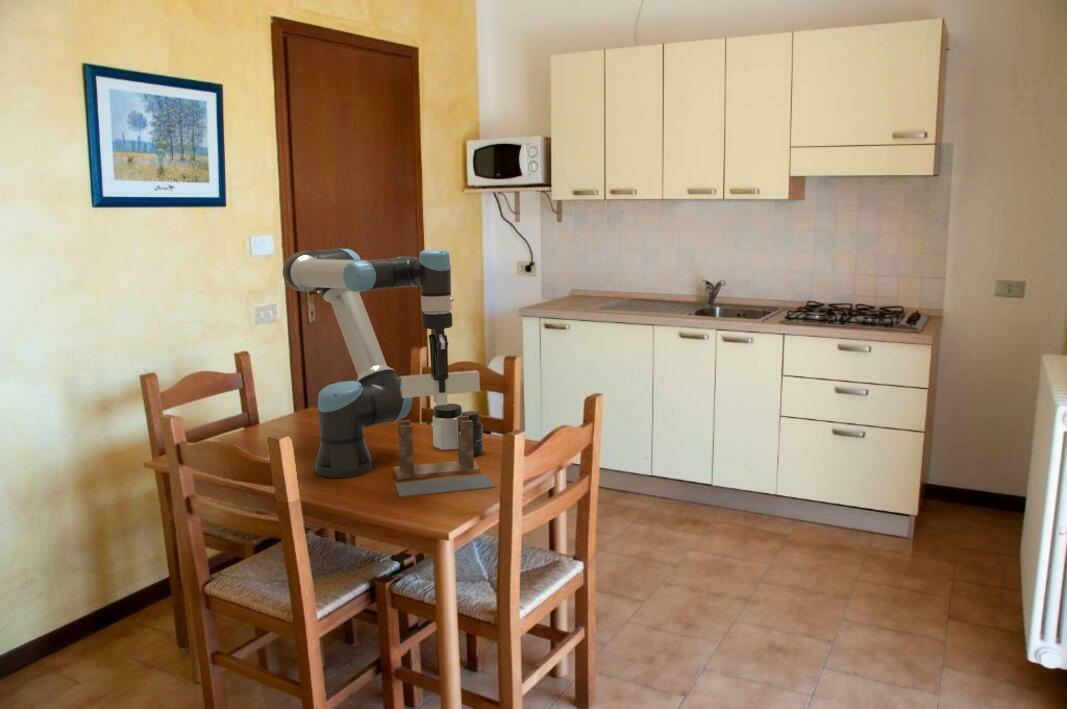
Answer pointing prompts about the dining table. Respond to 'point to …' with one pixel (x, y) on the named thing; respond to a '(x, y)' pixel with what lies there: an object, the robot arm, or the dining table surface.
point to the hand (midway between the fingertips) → (440, 402)
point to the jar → (446, 426)
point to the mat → (443, 485)
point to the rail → (427, 385)
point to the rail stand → (436, 469)
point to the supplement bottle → (476, 432)
